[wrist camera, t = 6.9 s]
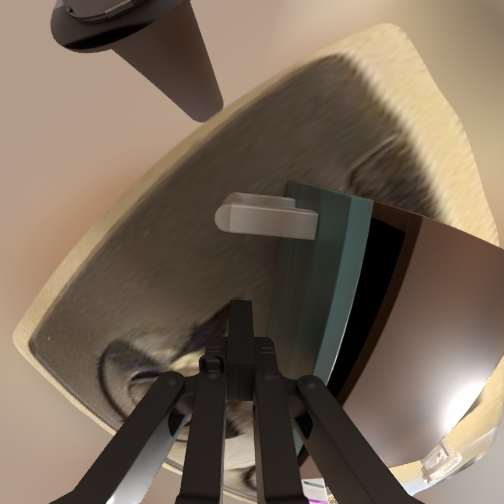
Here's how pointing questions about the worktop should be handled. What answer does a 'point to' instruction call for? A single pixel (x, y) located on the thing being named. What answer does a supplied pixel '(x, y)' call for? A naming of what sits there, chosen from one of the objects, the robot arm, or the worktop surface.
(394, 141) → the worktop surface
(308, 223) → the cupboard door
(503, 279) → the cupboard
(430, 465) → the white slotted fitting
